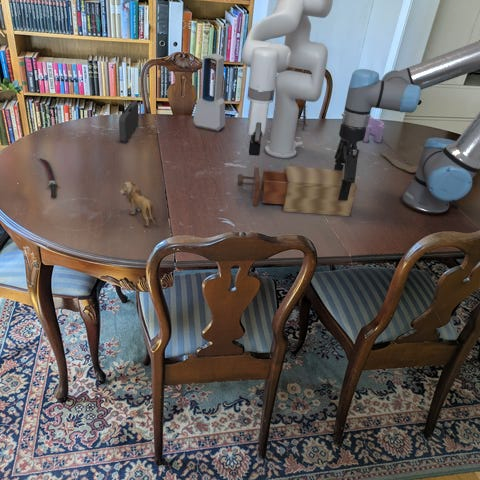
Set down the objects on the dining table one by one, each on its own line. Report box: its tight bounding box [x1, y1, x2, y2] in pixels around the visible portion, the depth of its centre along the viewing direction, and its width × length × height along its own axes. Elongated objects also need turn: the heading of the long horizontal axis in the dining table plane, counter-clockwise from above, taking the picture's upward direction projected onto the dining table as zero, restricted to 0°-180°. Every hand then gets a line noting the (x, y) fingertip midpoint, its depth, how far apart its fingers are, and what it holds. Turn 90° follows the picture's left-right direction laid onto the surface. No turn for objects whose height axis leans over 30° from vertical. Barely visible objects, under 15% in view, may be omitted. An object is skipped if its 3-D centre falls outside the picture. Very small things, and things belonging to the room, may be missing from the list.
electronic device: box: [193, 53, 226, 132], centre depth 196 cm, size 12×8×30 cm, turn 71°
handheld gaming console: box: [118, 101, 139, 143], centre depth 187 cm, size 23×3×10 cm, turn 178°
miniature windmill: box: [294, 68, 309, 131], centre depth 208 cm, size 9×8×30 cm
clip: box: [362, 114, 386, 143], centre depth 214 cm, size 20×12×7 cm, turn 11°
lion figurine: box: [119, 181, 159, 227], centre depth 134 cm, size 15×5×9 cm, turn 50°
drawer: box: [237, 166, 288, 206], centre depth 149 cm, size 25×10×8 cm, turn 91°
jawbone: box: [380, 152, 419, 174], centre depth 187 cm, size 9×20×2 cm, turn 50°
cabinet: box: [281, 165, 358, 217], centre depth 149 cm, size 21×11×10 cm, turn 91°
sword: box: [40, 158, 59, 198], centre depth 151 cm, size 31×3×1 cm, turn 26°
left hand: (253, 154), depth 142 cm, fingers closed
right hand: (338, 190), depth 150 cm, fingers closed on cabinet, 11 cm apart
